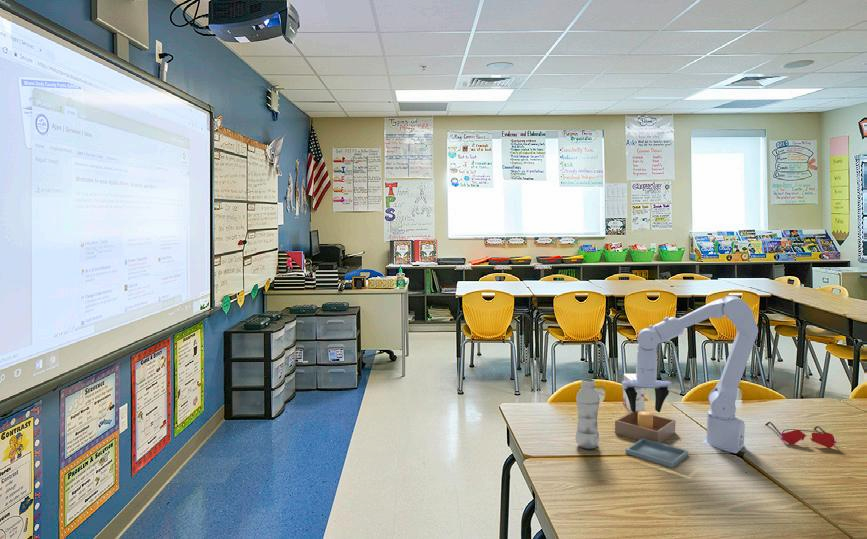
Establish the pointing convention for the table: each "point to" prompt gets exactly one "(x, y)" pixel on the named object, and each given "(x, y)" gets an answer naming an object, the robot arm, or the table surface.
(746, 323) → the robot arm
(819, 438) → the glasses
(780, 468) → the table surface
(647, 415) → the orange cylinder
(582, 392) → the plastic bottle
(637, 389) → the ink cartridge box
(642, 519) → the table surface
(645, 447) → the tray
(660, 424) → the brown storage bin
